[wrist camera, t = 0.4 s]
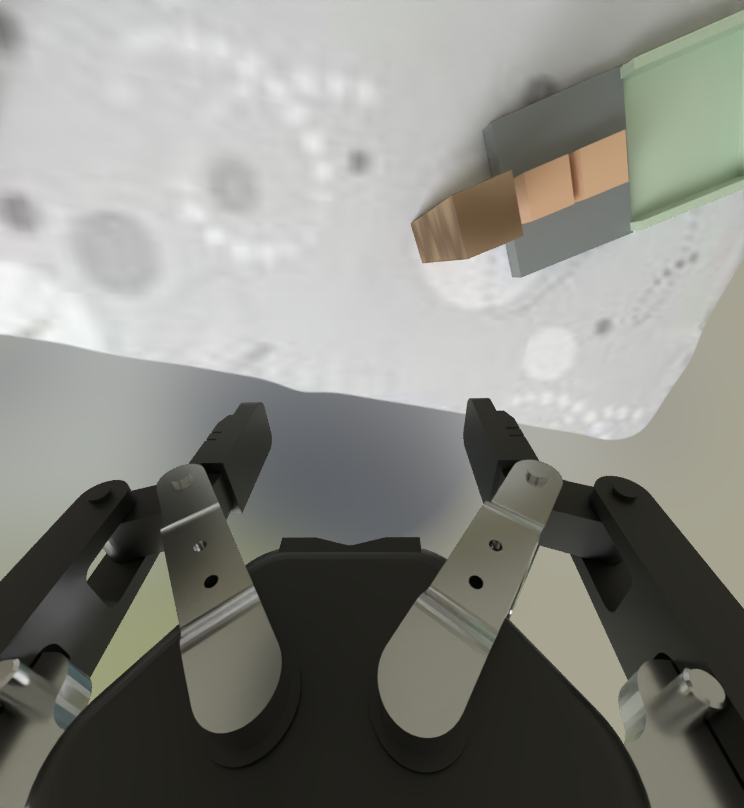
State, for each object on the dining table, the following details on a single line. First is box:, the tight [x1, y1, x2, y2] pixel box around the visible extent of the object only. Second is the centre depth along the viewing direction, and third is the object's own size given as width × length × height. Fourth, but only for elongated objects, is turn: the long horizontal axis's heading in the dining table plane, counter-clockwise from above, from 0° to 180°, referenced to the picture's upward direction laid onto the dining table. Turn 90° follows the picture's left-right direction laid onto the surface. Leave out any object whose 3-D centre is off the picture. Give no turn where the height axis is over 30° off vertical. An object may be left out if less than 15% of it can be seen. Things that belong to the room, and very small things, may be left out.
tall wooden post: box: [411, 170, 524, 263], centre depth 28 cm, size 4×4×14 cm
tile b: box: [569, 130, 629, 203], centre depth 31 cm, size 4×4×3 cm
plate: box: [483, 65, 633, 277], centre depth 33 cm, size 14×12×2 cm
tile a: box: [513, 154, 575, 224], centre depth 31 cm, size 4×4×3 cm
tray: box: [620, 10, 744, 231], centre depth 31 cm, size 14×13×4 cm
